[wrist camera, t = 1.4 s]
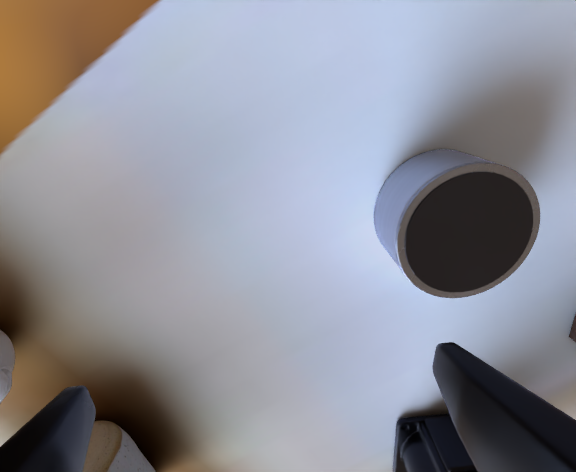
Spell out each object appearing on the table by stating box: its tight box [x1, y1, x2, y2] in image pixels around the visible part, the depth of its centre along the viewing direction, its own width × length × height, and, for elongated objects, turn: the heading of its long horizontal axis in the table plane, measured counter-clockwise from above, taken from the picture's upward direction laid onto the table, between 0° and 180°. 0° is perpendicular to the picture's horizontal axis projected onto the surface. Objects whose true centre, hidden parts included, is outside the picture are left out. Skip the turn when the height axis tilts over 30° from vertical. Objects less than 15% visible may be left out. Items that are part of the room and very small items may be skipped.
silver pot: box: [374, 149, 540, 298], centre depth 20 cm, size 7×7×4 cm
